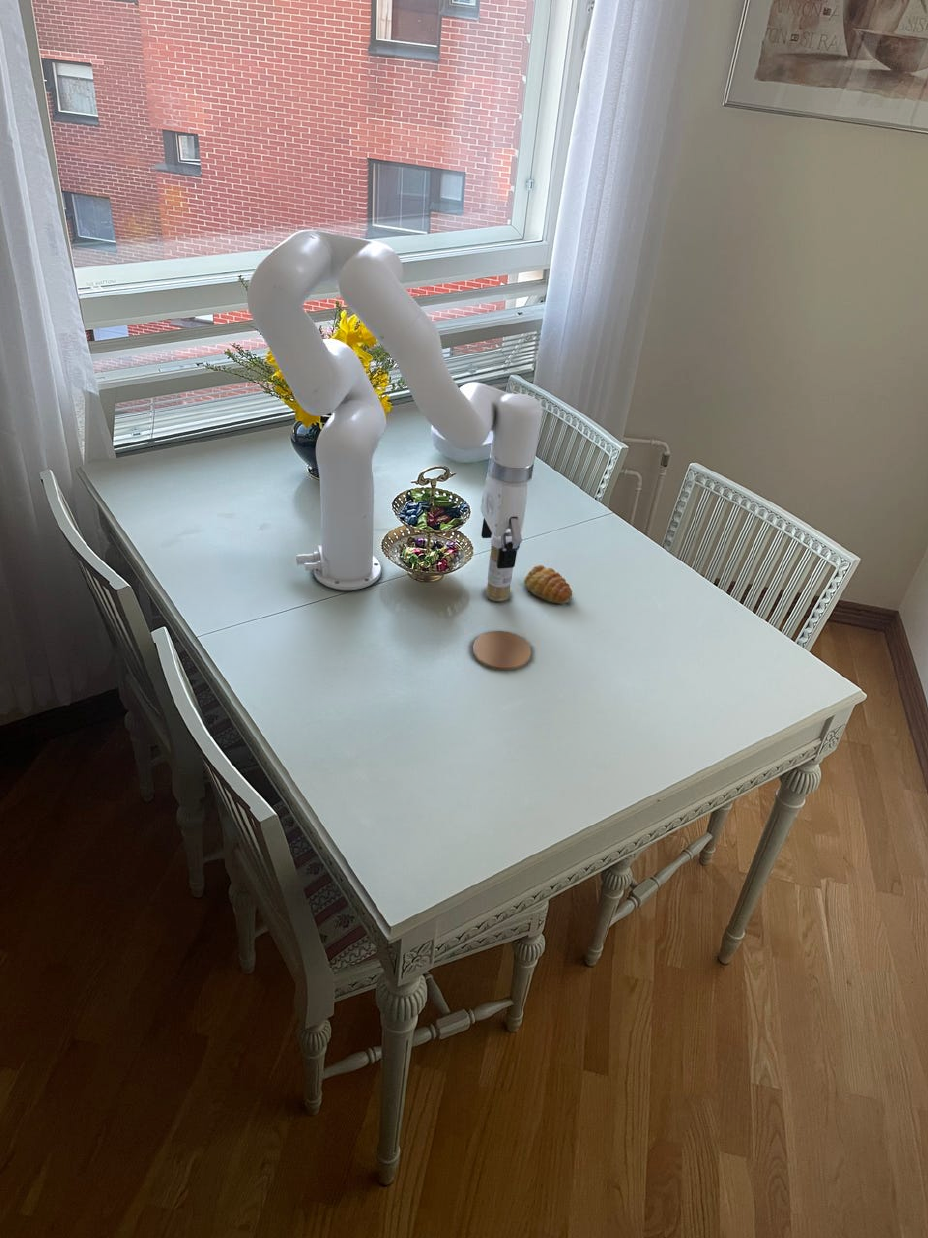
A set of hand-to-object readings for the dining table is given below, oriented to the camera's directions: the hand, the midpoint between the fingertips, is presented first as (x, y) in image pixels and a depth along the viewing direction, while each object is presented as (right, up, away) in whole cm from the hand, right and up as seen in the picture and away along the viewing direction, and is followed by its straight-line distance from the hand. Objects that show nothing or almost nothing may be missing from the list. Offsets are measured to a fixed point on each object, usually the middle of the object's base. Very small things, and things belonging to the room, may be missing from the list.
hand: (497, 551), depth 167 cm
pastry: (+10, -7, +8) cm, 15 cm away
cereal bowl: (-6, +26, +50) cm, 56 cm away
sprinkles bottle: (0, -8, +6) cm, 10 cm away
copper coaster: (0, -18, -7) cm, 19 cm away
